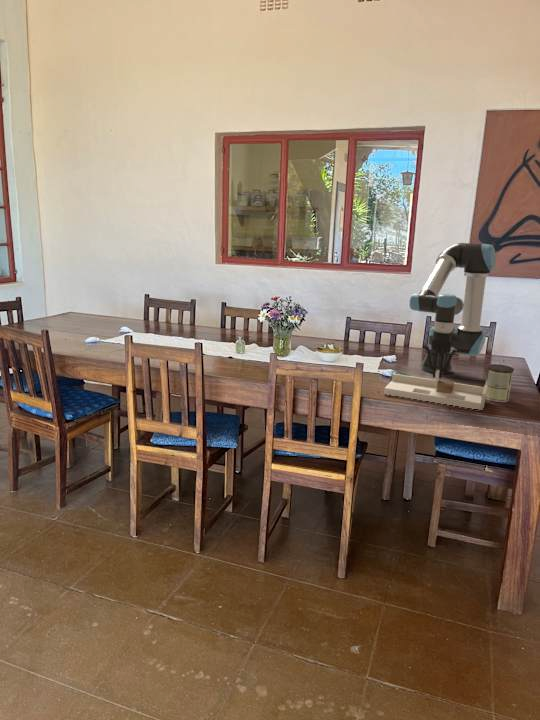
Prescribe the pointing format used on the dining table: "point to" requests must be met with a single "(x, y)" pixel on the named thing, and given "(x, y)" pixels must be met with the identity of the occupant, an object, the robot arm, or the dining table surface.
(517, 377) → the dining table surface
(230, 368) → the dining table surface
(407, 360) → the dining table surface
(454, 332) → the robot arm
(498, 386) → the coffee can
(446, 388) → the block
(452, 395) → the box
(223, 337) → the dining table surface
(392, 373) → the sunglasses
